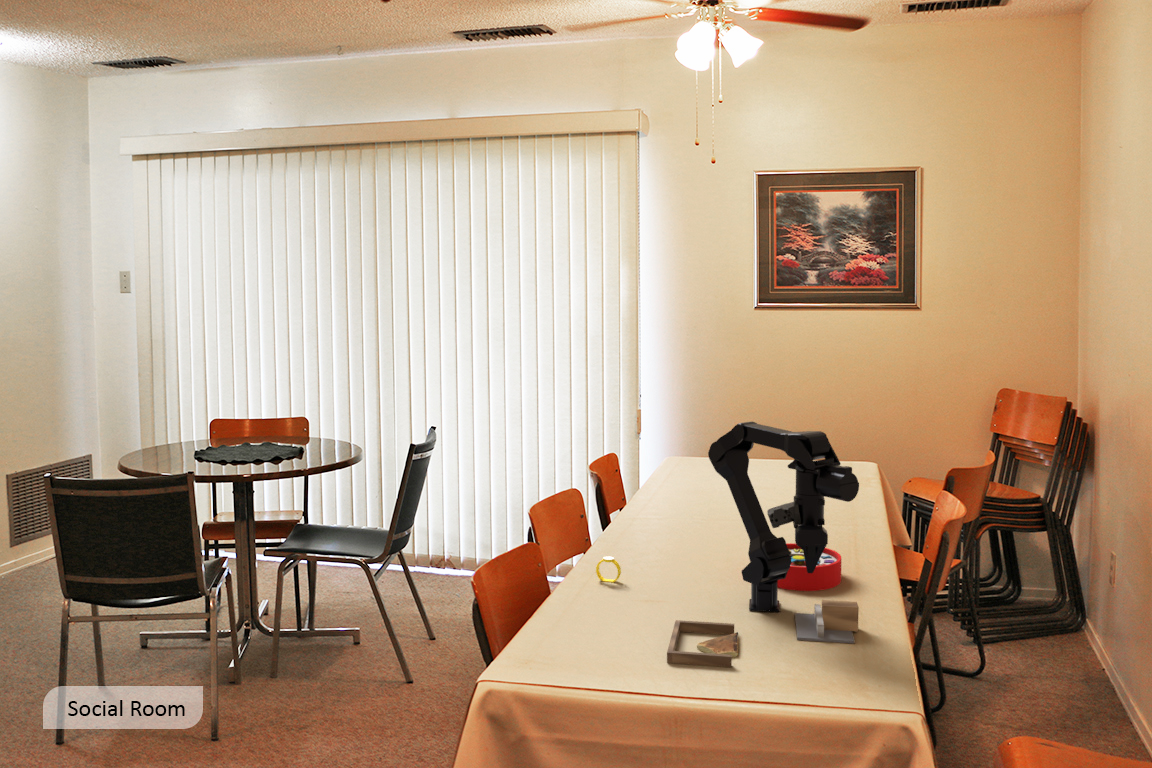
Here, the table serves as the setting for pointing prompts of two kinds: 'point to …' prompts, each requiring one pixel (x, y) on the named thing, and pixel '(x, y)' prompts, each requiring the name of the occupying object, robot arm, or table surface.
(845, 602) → the wood and metal bracket
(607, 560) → the watch
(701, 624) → the bar
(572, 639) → the table surface
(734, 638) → the shard
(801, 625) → the rubber mat
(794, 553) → the toy clock
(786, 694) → the table surface
